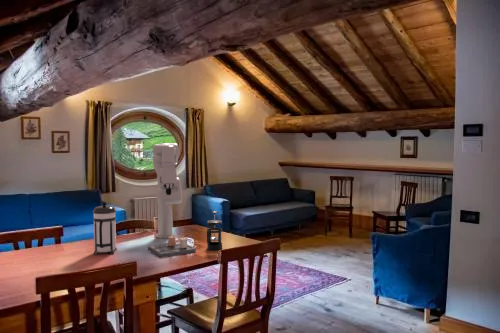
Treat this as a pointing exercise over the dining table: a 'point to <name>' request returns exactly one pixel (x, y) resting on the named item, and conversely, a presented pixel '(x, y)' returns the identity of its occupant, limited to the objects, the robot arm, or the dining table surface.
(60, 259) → the dining table surface
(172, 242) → the fader terracotta
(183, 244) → the fader ivory
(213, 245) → the french press
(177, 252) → the console
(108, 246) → the coffee press
